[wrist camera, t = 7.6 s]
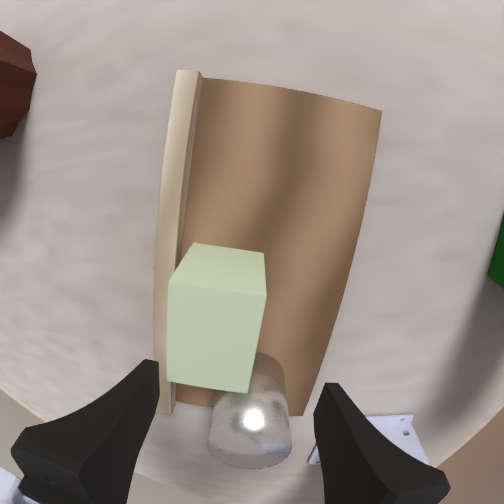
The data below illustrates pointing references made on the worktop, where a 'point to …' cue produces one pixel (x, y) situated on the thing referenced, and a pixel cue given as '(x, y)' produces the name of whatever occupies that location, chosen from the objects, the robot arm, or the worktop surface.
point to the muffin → (14, 83)
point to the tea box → (215, 317)
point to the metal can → (253, 420)
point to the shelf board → (265, 210)
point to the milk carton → (498, 260)
